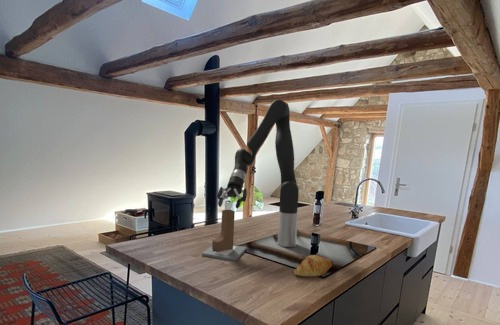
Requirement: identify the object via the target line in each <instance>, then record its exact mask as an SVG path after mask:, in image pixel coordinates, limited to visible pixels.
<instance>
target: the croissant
mask: <svg viewBox="0 0 500 325" xmlns="http://www.w3.org/2000/svg"><path fill="white" fill-rule="evenodd" d="M333 263H334V260H332V259H328V258H324V257H323V256H322V255H318V254H312V255H311V254H310V255H307V256H306V257H305V258H304V260H302V261H301V262H300V264H299V265H297V267H296V268H295V269H294V270H293V274H294V276H295V275H296V276H299V277H320V276H323V275H325V274H326V273H327V272H328V271H329V269H331V267H332V266H333Z"/></svg>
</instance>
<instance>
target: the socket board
mask: <svg viewBox="0 0 500 325" xmlns="http://www.w3.org/2000/svg"><path fill="white" fill-rule="evenodd" d="M246 249H247V246H241V245H234V244H233V249H229V250H224V251H219V252H216V251H215V250H213V249H212V245H211V246H210V247H208V248H207V249H205V250H204V251H203V252H202V253H201V256H202V257H207V258H213V259H219V260H226V261H231V262H237V260H238V259H240V257H241V256H242V255H243V254H244V253H245V252H246V251H247V250H246ZM245 250H246V251H245Z"/></svg>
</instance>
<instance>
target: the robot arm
mask: <svg viewBox="0 0 500 325" xmlns="http://www.w3.org/2000/svg"><path fill="white" fill-rule="evenodd" d="M290 118H291V117H290V106H289V104H288V103H287V102H286V101H284V100H282V99H275V100H273V101H271V104H270V106H269V107H268V109H267V112H266V113H265V116H264V117H263V119H262V120H261V122H260V124H259V126H258V127H257V129H256V130H255V131H254V132H253V133H252V135H251V137H250V138H249V140H248V141H247V143H246V146H247V147H248V148H249V149H250V151H251V152H249V151H247V150H246V149H245V148H238V149H237V151H236V152H235V154H234V155H235V156H234V168H233V170H232V172H231V174H230V176H229V180H228V182H227V186H226V187H225V188H223V187H222V186H221V187H220V188H219V190H218V191H217V193H216V199H218V202H217V204H218V206H219V207H220V208H222V206H223V203H224V200H225V199H226V200H227V199H228V198H234V199H235V198H236V199H237V200H236V203H235V208H236V209H239V208H240V207H241V204H242V202H246V201H247V196H248V189H247V188H244V189H243V187H244V184H245V180H246V175H247V173H248V170H249V169H248V167H250V166H251V165H252V164H253V163H254V161H255V159H256V157H257V156H256V155H257V153H258V151H259V149H260V147H262V146H263V144H264V143H265V141H266V139H267V137H268V136H269V133H270V131H271V129H272V128H273V126H274V125H275V128H276V129H275V130H276V131H275V132H276V133H275V141H274V142H275V146H274V148H275V153H276V160H277V163H278V168H279V173H280V190H279V191H280V192H279V211H278V228H277V229H278V230H277V231H278V232H277V236H278V237H277V245H278V246H280V247H284V248H295V247H296V245H297V235H298V231H297V230H298V226H297V225H298V224H297V223H298V222H297V221H298V208H299V187H298V183H297V179H296V175H295V150H294V144H293V137H292V136H293V135H292V131H291V124H290V122H291V121H290V120H291V119H290ZM240 195H242V196H240Z"/></svg>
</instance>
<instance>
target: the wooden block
mask: <svg viewBox="0 0 500 325" xmlns="http://www.w3.org/2000/svg"><path fill="white" fill-rule="evenodd" d="M235 212H236V211H235V210H233V209H222V210H221V229H220V234H219V236H218V237H216V238H215V239H212V245H211V246H212V249H213V250H215V251H216V252H219V251H224V250H229V249H233V245H234V235H235V234H234V233H235V232H234V231H235Z"/></svg>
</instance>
